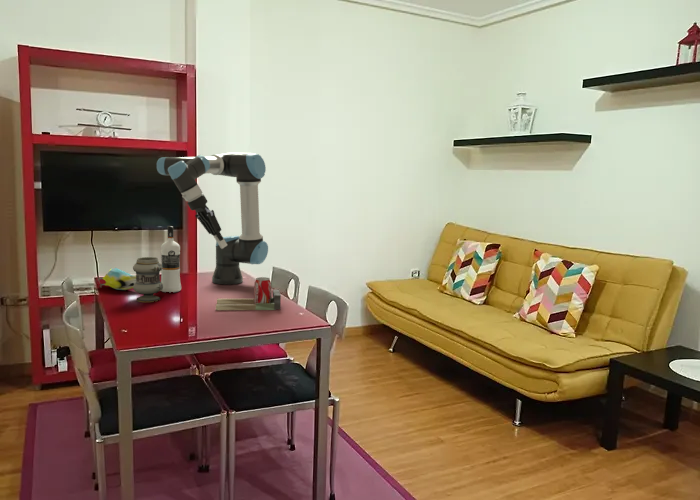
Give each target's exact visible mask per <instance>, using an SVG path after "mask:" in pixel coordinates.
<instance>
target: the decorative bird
mask: <svg viewBox="0 0 700 500" xmlns="http://www.w3.org/2000/svg"><path fill="white" fill-rule="evenodd" d="M97 279H98V280H104V281H105V283H101V282H99V284H100V285H99V287H100V289H101V288H102V286H107V287H110V288H112V289H114V290H117V291H126V290H131V289H133V285H134V284H135V283H136V274H135V275H134V274H130V273H128V272H126V271H125V270H122V269H119V268H117V267H114V268H112V267H111V268H110V269H109V270H108V272H107V273H106V274H105V275H104V276H103V277H99V275H97Z"/></svg>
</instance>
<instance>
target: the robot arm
mask: <svg viewBox="0 0 700 500" xmlns="http://www.w3.org/2000/svg"><path fill="white" fill-rule="evenodd" d="M156 170H157V173H158V174H160V175H162V176H170V179H171V180H172V181H173V182H174V185H175V186H176V187H177V189H178V191H179V192H180V194H181V195H182V196H181V197H182V198H183V199H184V201H185V202H187V206H188V207H189V209H190V211H195V213H196V214H195V215H194V216H195V218H196V219H198V220H197V221H199V222H200V224H201V225H202V226H203V228H204V229H205V230H206V232H207V233H208V235H211V236H213V238H214V239H215V241H216V242H215V268H214V271H213V274H212V277H211V283H213V284H219V285H236V284H237V285H238V284H241V283H243V282H244V281H243V280H244V278H243V277H244V276H243V275H242V271H241V268H240V264H249V265H261V264H263V263H264V262H265V260H266V259H267V256H268V253H269V245H268V243H267V242H266V241H264V236H263V235H262V234H261V231H260V211H259V210H260V209H259V208H260V206H259V205H260V204H259V203H260V202H259V201H260V200H259V184H260V183H261V182H262V178H264V177H265V176H266V175H265V173H266V171H267V170H266V163H265V160H264V158H263V157H262V156H261V155H260V154H258V153H253V152H226V153H220V154H212V155H210V156H205V155H203V154H199V155H196V156H184V157H183V156H182V157H180V156H179V157H175V156H174V157H173V156H170V157H169V156H165V157H160V158H158V160H157V161H156ZM205 174H211V175H213V176H222V177H223V176H224V177H231V178H236V183H237V184H238V185H239V192H240V194H239V197H240V200H239V201H240V217H241V218H240V219H241V235H230V236H229V235H228V236H223V235H222V233H221V231H222V227H221V226H220V223H219V222H218V219H217V217H216V214H215V211H214V210H213V209H211V210H210V209H209V207H208V206H207V203H208V200H207V197H206V196H205V195H204V193H203V190H202V189H201V187H200V186H199V184H198V182H197V181H196V180H197V179H198V178H200V177H201V176H203V175H205Z"/></svg>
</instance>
